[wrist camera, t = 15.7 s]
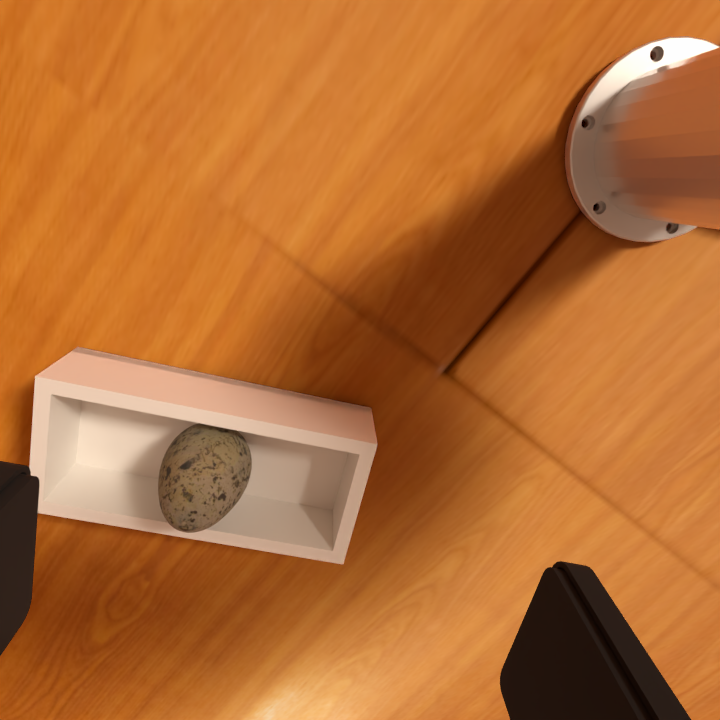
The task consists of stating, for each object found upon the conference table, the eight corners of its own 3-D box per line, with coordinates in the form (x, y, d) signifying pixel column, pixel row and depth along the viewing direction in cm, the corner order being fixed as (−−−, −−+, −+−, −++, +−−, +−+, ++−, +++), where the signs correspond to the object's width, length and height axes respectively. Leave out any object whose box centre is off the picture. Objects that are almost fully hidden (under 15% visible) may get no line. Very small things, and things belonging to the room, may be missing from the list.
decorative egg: (272, 432, 41) (255, 509, 32) (231, 489, 43) (203, 578, 33) (203, 391, 40) (164, 459, 30) (163, 451, 41) (114, 534, 32)
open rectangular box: (371, 407, 42) (377, 444, 36) (341, 515, 45) (343, 564, 39) (77, 346, 39) (35, 376, 34) (67, 465, 42) (26, 510, 37)
